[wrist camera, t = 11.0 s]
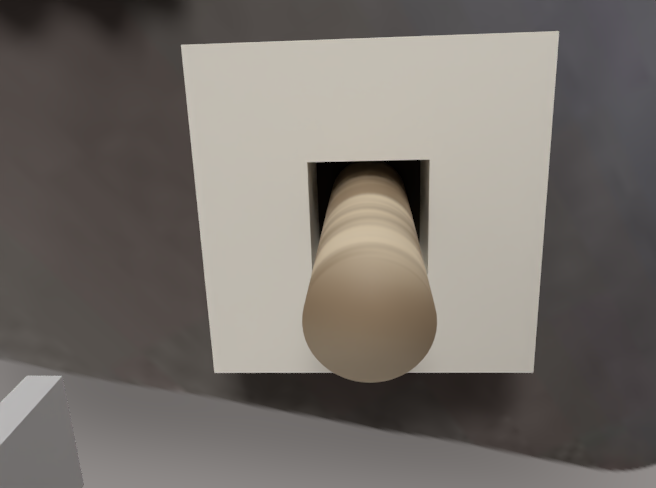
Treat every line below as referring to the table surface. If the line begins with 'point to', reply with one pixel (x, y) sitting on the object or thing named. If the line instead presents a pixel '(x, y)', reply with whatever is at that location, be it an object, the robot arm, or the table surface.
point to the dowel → (369, 280)
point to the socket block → (373, 145)
